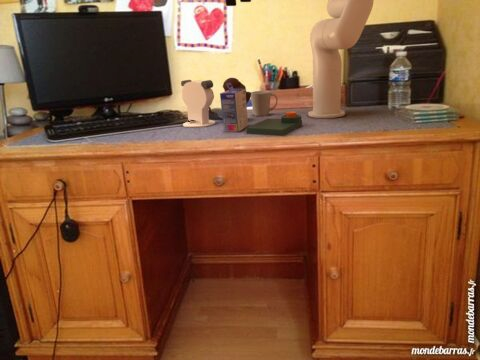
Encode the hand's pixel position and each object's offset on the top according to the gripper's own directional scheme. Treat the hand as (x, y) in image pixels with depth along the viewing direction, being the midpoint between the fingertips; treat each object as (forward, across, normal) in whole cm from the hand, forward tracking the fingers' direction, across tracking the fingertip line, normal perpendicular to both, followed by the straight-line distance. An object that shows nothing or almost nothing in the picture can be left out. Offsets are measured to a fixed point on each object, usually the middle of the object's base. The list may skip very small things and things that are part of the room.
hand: (238, 3), depth 112 cm
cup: (+37, +18, -17) cm, 44 cm away
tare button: (+33, -8, -12) cm, 37 cm away
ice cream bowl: (+37, +15, -4) cm, 40 cm away
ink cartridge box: (+37, +2, +2) cm, 37 cm away
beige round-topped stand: (+37, +18, +9) cm, 42 cm away
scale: (+37, -8, -7) cm, 38 cm away
